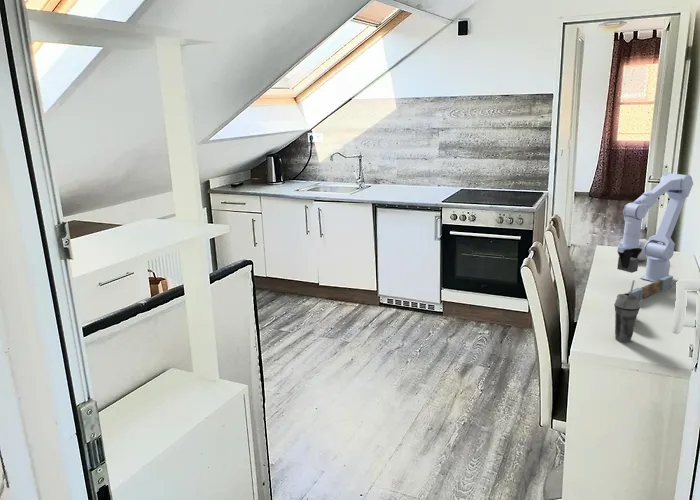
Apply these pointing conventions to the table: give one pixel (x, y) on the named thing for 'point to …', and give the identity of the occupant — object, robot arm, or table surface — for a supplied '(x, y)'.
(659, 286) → the door
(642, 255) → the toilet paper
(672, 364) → the table surface
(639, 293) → the wall frame
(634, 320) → the beverage cup
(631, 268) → the grey rectangular prism
